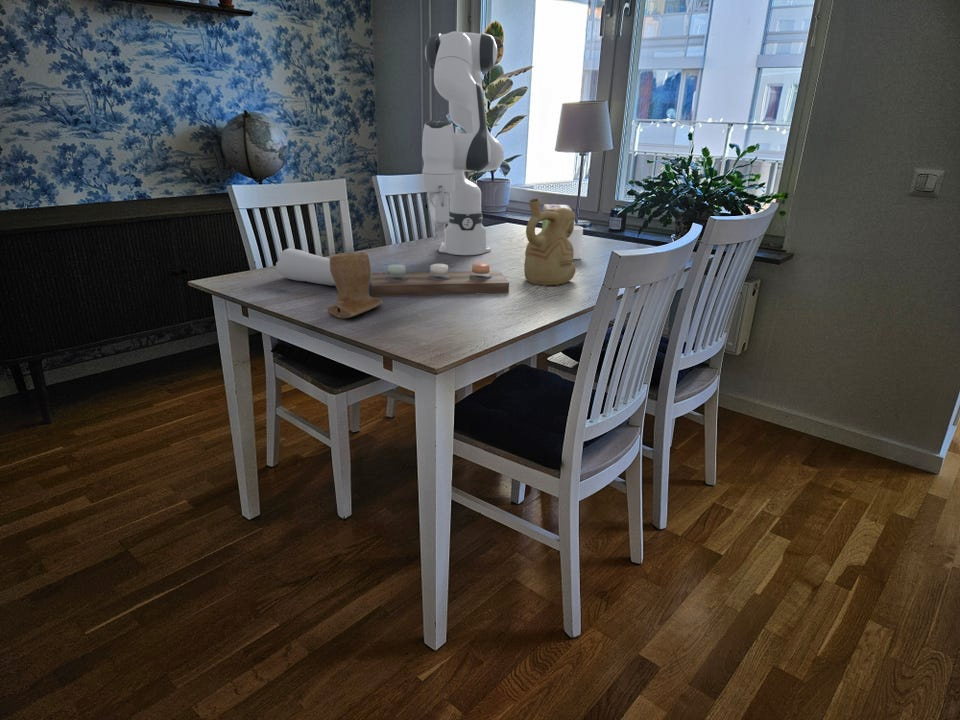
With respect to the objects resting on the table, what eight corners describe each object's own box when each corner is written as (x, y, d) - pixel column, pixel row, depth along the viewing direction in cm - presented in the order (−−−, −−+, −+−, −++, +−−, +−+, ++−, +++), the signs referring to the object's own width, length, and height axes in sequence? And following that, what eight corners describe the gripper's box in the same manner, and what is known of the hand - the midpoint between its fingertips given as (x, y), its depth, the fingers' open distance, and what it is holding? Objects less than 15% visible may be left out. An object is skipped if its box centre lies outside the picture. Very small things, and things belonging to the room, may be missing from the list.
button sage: (387, 271, 178) (387, 264, 178) (405, 271, 179) (405, 264, 178) (388, 275, 174) (387, 268, 173) (406, 275, 174) (406, 268, 174)
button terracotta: (470, 269, 182) (471, 263, 181) (487, 269, 183) (488, 262, 182) (473, 274, 177) (473, 267, 177) (490, 273, 178) (491, 266, 177)
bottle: (269, 271, 181) (350, 289, 168) (280, 242, 182) (362, 258, 169) (289, 282, 189) (368, 300, 176) (299, 254, 190) (379, 270, 178)
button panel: (372, 283, 183) (372, 272, 182) (499, 280, 189) (499, 269, 188) (372, 296, 171) (371, 284, 169) (508, 292, 176) (509, 281, 175)
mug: (549, 260, 215) (551, 229, 211) (560, 254, 225) (563, 224, 221) (572, 263, 212) (575, 232, 208) (583, 257, 222) (586, 226, 218)
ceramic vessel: (588, 281, 190) (595, 197, 181) (545, 292, 178) (551, 202, 168) (546, 271, 202) (551, 191, 192) (503, 280, 189) (506, 196, 180)
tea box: (569, 250, 233) (572, 209, 227) (542, 249, 233) (545, 209, 227) (565, 242, 247) (568, 203, 241) (540, 241, 247) (542, 203, 241)
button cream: (429, 270, 180) (429, 263, 179) (447, 270, 181) (447, 263, 180) (431, 274, 176) (431, 267, 175) (448, 274, 176) (448, 267, 176)
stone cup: (351, 300, 167) (348, 244, 161) (389, 307, 162) (387, 249, 156) (314, 315, 154) (308, 255, 148) (353, 323, 149) (349, 261, 144)
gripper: (455, 188, 160) (454, 242, 165) (446, 180, 179) (446, 228, 184) (430, 188, 159) (431, 242, 164) (424, 180, 178) (425, 228, 183)
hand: (439, 235), depth 174 cm, fingers open, 3 cm apart
